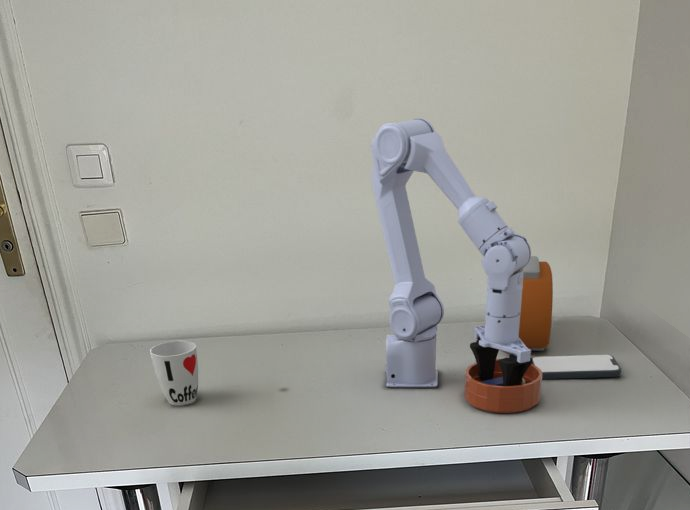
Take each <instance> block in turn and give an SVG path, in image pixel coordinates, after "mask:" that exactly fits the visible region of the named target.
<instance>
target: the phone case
mask: <svg viewBox="0 0 690 510" xmlns="http://www.w3.org/2000/svg"><path fill="white" fill-rule="evenodd" d="M531 358H532V359H533V361H532V365H535V366H537V367H538V368H539V369H540V370H541V371H542V374H543V377H542V380H552V379H556V380H557V379H585V378H587V379H589V378H590V379H591V378H617V377H620V376H621V374H622V368H621V366H620V365H619V363H618V362H617V360H616V358H615V356H613V355H611V354H587V355H585V354H583V355H582V354H581V355H554V356H553V355H551V356H549V355H548V356H532V357H531Z"/></svg>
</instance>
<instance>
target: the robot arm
mask: <svg viewBox="0 0 690 510" xmlns="http://www.w3.org/2000/svg"><path fill="white" fill-rule="evenodd" d="M370 149H371V155H372V158H373V160H372V161H373V162H372V171H371V187H372V192H373V195H374V200H375V204H376V208H377V209H376V210H377V213H378V217H379V222H380V226H381V230H382V233H383V239H384V244H385V247H386V251H387V256H388V260H389V265H390V269H391V270H390V271H391V274H392V277H393V282H394V286H393V289H392V292H391V294H390V295H389V298H388V303H389V317H388V323H389V326H390V329H391V331H392V333H393V334H387V335H386V342H385V365H384V366H385V367H384V368H385V369H384V370H385V374H386V387H387V388H437V387H438V382H439V381H438V378H439V375H438V374H439V371H438V369H437V331H438V325H439V324H440V323H441V322H442V321H443V318H444V315H445V307H444V304H443V302H442V300H441V299H440V297H439V296H438V294H437V291H436V287H435V284H434V283H433V282H432V281H430V280H428V279H427V278H426V275H425V272H424V266H423V261H422V257H421V252H420V247H419V243H418V239H417V235H416V234H417V233H416V229H415V224H414V220H413V214H412V210H411V205H410V200H409V196H408V191H407V183H408V182H409V180H410V178H411V176H412V175H413V173H414V172H418V173H423V174H427V175H428V176H429V177H430V179H431V180H432V182H434V183H435V185H436V186H437V187H438V188H439V189H440V190H441V192H442V193H443V194H444V196H445V197H446V198H447V199H448V200H449V202H451V203H452V205H453V206H454V207H455V209H457V211H458V214H457V215H458V216H457V217H458V218H457V223H458V225H459V226H460V227H461V229H462V230H463V231H464V233H465V234H466V235H467V237H468V238H469V240H470V241H471V242H472V243H473V245H474V247H476V249H477V250H478V251H479V253H480V254H481V255H482V256H483V257H482V258H481V266H482V268H483V271H484V273H485V274H486V276H487V281H486V283H487V286H486V303H485V306H486V307H485V320H484V321H485V322H484V325H479V326H474V327H473V338H474V339H475V340H476V341H474V342H470V343H469V348H470V350H471V353H472V354H473V357H474V358H475V363H476V362H477V366H478V371H479V376H480V380H481V381H485V380H490V379H493V376H494V369H495V362H496V359H499V360H498V362H499V364H500V367H501V370H502V376H503V386H517V385H520V382H521V380H522V378H523V376H524V374H525V372H526V371H527V369H528V368H529V366H530V365H531V364H532V361H533V359H532V357H531V354H532V351H531V350H530V349H528V348H527V347H526V346H525V345H524V343H523V342H522V341H521V339H520V338H519V325H520V313H521V300H522V288H523V274H524V270H522V269H523V268H524V267H525V266H526V265H527V264H528V263H529V261H530V257H531V256H532V250H531V246H530V244H529V242H528V239H527V237H525V236H524V235H522V234H520V233H515V231H514V229H513V227H512V226H511V227H509V226H508V224H507V223H506V222H505V220H504V219H503V218H502V217H501V215H500V214H499V212H498V211H497V210H496V209H498V205H497V204H496V202H495V201H493V200H491V201H490V200H489V199H488V198H487V197H483V196H477V195H476V194H475V192H474V191H473V190H472V188H471V186H470V184H469V183H468V182H467V180H466V178H464V177H465V176H464V175H463V174H462V172H461V171H460V169H459V168H458V167H457V165H456V163H455V162H454V161H453V159H452V157H451V156H450V154H449V152H448V151H447V149H446V148H445V145H444V141H443V137H442V136H441V134H439V133H438V131H435V128H434V126H433V124H432V123H431V122H430V121H429V120H428V119H426V118H422V117H416V118H413V119H410V120H405V121H398V122H388V123H384V124H382V126H381V127H380V128H379V129H378V131H377V132H376V134H375V136H374V137H373V139H372V141H371V142H370ZM520 270H521V271H520ZM518 271H520V272H518ZM500 351H502V352H503V353H505V354H507V355H508V357H504V358H497V357H498V354H499V352H500Z"/></svg>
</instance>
